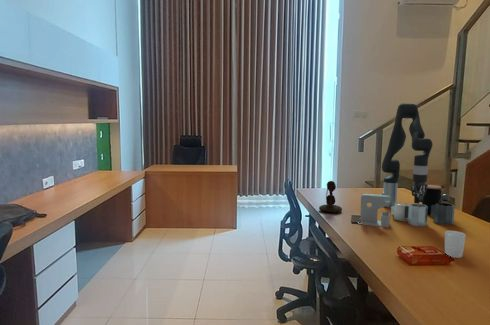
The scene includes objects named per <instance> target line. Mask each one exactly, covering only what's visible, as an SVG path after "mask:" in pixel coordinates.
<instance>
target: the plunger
mask: <svg viewBox="0 0 490 325" xmlns="http://www.w3.org/2000/svg"><path fill="white" fill-rule="evenodd" d="M422 200H423V196H422V195H420V194H419V202H418V203H416V204H417V207H419V204H420V203H422V202H421V201H422Z"/></svg>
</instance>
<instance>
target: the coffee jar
mask: <svg viewBox="0 0 490 325" xmlns="http://www.w3.org/2000/svg"><path fill="white" fill-rule="evenodd" d="M427 185H428V186H427V191H426V194H424V196H423V202H421V204H423V205H426V206H428V214H427V216H431V205H435V204H436V203H442V199H441V196H442V188H443V187H442V186H440V185H437V184H436V185H435V184H427Z"/></svg>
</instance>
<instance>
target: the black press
mask: <svg viewBox="0 0 490 325" xmlns="http://www.w3.org/2000/svg"><path fill="white" fill-rule="evenodd" d="M450 200H451V198H450V195H449V194H447V193H444V194H441V201H442V202H441V203H436V204H435V205H431V215H430V217H432V218H433V219H434V220H433V221H434V223H436V224H438V225H441V226H442V225H443V226H452V225H454V220H455V206H456V204H455V205H454V204H452V203H448V202H449V201H450Z"/></svg>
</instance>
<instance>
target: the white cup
mask: <svg viewBox="0 0 490 325" xmlns="http://www.w3.org/2000/svg"><path fill="white" fill-rule="evenodd" d="M466 236H467V235H466V233H464V232H462V231H456V230H446V231H444V254H445V253H446V254H447V255H449V256H448V257H450V256H451V258H454V259H456V258H457V259H461V258H463V256H464V250H465V249H464V248H465V242H466ZM447 255H446V256H447Z"/></svg>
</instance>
